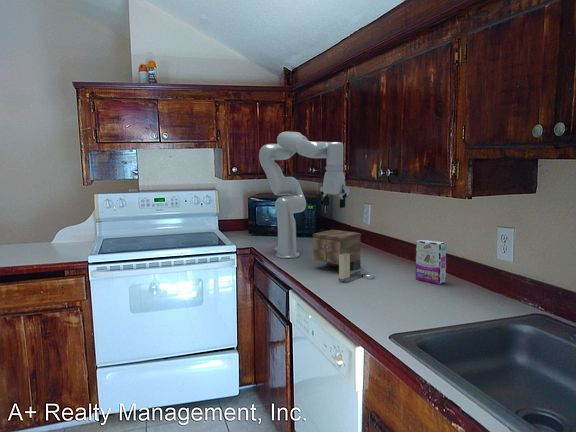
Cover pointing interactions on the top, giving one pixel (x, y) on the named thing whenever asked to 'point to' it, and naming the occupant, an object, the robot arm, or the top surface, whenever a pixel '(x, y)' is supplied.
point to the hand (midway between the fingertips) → (334, 206)
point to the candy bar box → (431, 261)
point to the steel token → (368, 276)
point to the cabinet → (337, 247)
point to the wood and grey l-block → (347, 269)
